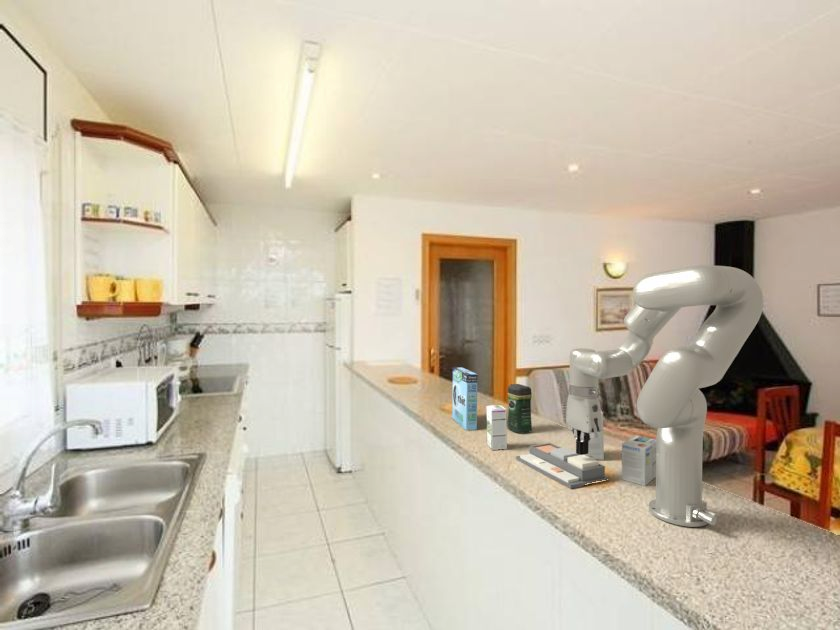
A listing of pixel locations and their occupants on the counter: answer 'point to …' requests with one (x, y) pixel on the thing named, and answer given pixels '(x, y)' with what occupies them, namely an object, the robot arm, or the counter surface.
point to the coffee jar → (519, 408)
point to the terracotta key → (546, 448)
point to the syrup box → (496, 427)
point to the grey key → (563, 453)
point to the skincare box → (596, 445)
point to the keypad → (561, 468)
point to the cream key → (583, 461)
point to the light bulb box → (639, 460)
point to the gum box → (464, 398)
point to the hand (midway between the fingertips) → (582, 453)
